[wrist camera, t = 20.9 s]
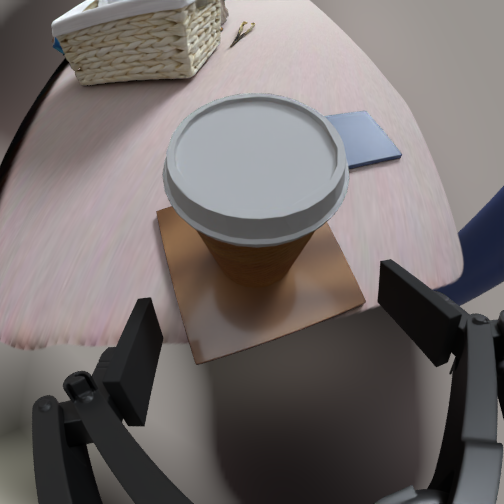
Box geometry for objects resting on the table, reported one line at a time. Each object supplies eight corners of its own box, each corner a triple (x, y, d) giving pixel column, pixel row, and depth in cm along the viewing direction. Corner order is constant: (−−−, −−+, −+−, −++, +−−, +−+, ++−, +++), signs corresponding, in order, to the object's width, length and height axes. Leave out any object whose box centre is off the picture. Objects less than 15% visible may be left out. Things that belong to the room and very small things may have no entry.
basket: (71, 91, 38) (43, 25, 24) (119, 46, 44) (103, -11, 31) (196, 86, 35) (182, -10, 22) (230, 41, 42) (226, -31, 28)
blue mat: (400, 157, 30) (402, 154, 29) (344, 170, 29) (346, 166, 28) (364, 114, 33) (365, 110, 32) (310, 121, 32) (311, 118, 31)
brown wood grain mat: (363, 304, 23) (366, 302, 22) (197, 365, 21) (195, 364, 20) (297, 173, 28) (298, 169, 28) (157, 214, 27) (156, 211, 26)
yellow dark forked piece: (235, 49, 41) (234, 43, 39) (220, 49, 41) (220, 42, 40) (256, 27, 45) (256, 21, 44) (244, 26, 46) (243, 20, 44)
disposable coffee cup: (178, 235, 25) (132, 130, 14) (271, 186, 27) (278, 74, 16) (235, 331, 21) (215, 275, 11) (336, 267, 24) (394, 171, 13)
